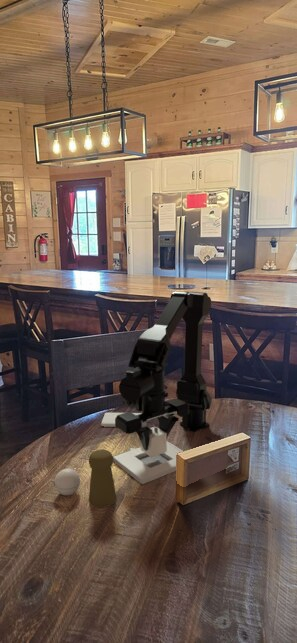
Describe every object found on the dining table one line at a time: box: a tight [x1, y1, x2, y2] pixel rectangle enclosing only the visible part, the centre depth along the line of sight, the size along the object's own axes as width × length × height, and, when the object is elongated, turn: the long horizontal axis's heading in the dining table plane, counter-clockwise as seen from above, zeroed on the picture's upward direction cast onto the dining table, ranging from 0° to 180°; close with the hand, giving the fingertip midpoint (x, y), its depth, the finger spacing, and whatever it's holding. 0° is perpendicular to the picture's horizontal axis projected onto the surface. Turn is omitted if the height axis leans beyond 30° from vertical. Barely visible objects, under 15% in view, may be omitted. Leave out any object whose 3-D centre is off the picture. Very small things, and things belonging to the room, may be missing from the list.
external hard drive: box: [100, 412, 142, 428], centre depth 136 cm, size 2×8×12 cm
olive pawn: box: [88, 448, 117, 508], centre depth 96 cm, size 6×6×11 cm
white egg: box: [53, 468, 81, 496], centre depth 98 cm, size 8×6×6 cm
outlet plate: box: [113, 440, 184, 485], centre depth 112 cm, size 16×13×1 cm
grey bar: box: [112, 447, 135, 457], centre depth 114 cm, size 9×2×1 cm, turn 125°
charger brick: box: [140, 426, 168, 457], centre depth 111 cm, size 5×5×6 cm
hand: (153, 446), depth 111 cm, fingers closed on charger brick, 5 cm apart
